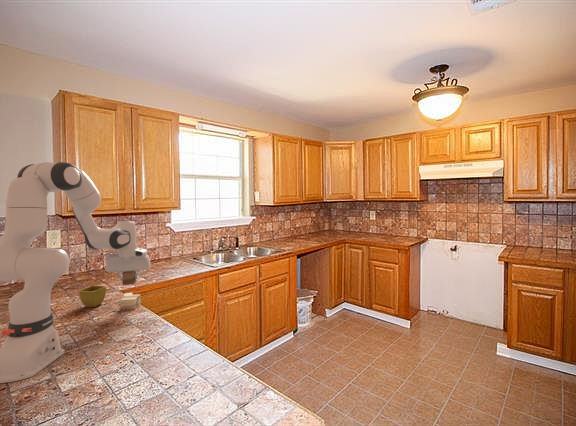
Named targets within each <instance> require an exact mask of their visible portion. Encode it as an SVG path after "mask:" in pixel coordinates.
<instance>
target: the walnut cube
mask: <svg viewBox="0 0 576 426" xmlns="http://www.w3.org/2000/svg"><path fill="white" fill-rule="evenodd" d="M121 274H122V279H123V280H122V286H127V285H128V286H129V285H131V286H132V285H135V284H136V283H137V279H134V278H135V277H134V276H135V275H136V274H137V272H136V270H134V271H122V273H121Z"/></svg>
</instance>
